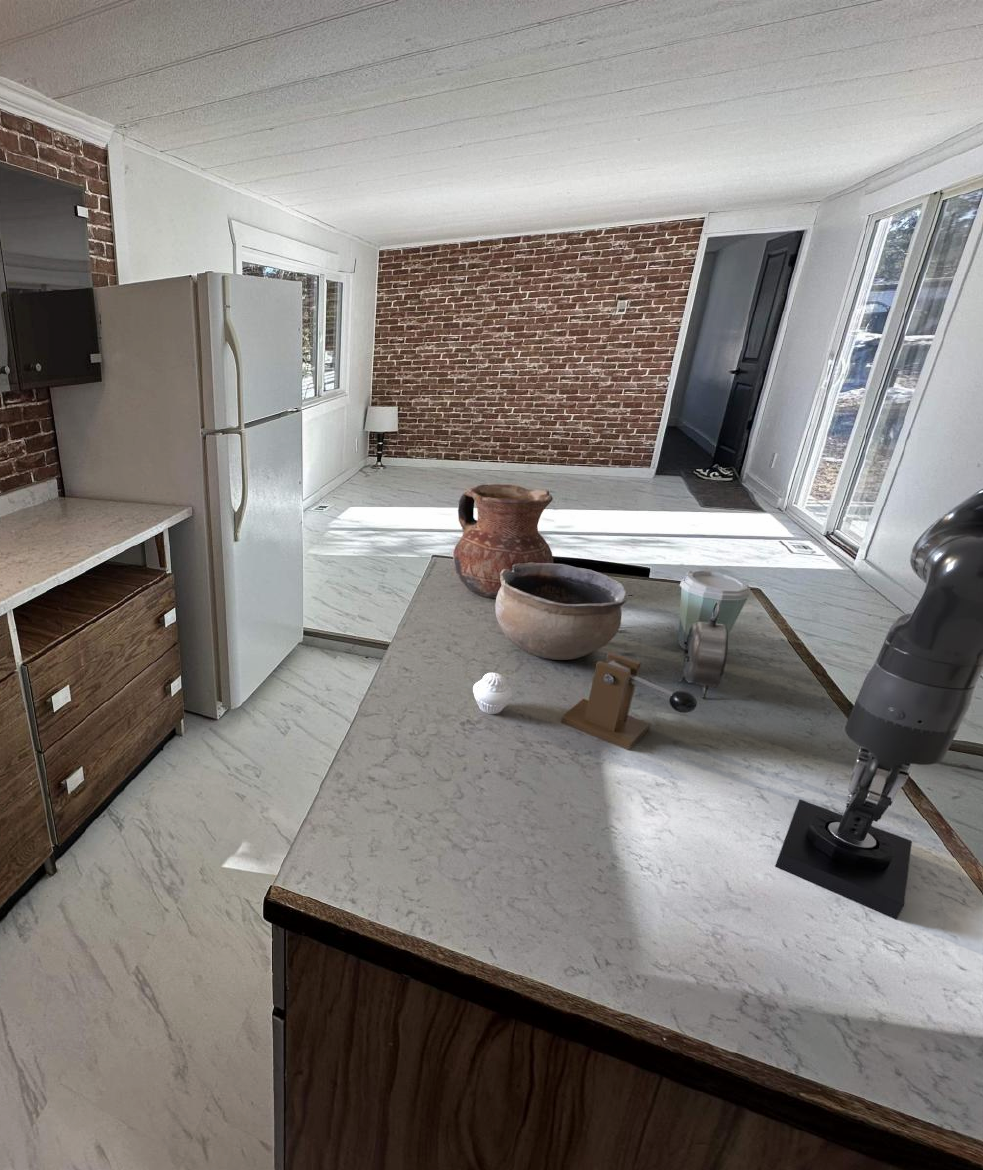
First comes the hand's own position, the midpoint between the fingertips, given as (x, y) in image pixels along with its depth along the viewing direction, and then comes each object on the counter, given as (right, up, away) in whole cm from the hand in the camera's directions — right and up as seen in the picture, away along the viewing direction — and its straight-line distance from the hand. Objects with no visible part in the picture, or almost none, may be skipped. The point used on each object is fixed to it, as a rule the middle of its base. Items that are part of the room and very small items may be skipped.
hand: (850, 833), depth 73 cm
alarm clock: (+11, +11, +38) cm, 41 cm away
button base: (0, -4, +1) cm, 4 cm away
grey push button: (0, -2, +1) cm, 2 cm away
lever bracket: (-11, +6, +28) cm, 31 cm away
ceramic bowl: (-6, +16, +52) cm, 55 cm away
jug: (-3, +28, +81) cm, 85 cm away
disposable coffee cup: (+22, +17, +50) cm, 57 cm away
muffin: (-27, +8, +34) cm, 44 cm away
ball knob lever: (-9, +12, +22) cm, 26 cm away
